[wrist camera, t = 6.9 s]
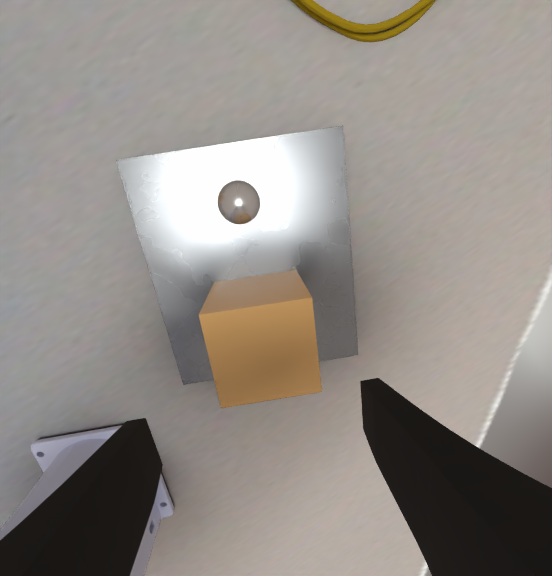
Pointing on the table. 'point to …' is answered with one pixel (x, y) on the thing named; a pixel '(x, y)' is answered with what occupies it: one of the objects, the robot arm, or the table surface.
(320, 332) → the plate
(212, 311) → the light orange cube
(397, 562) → the table surface
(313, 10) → the extension cord
